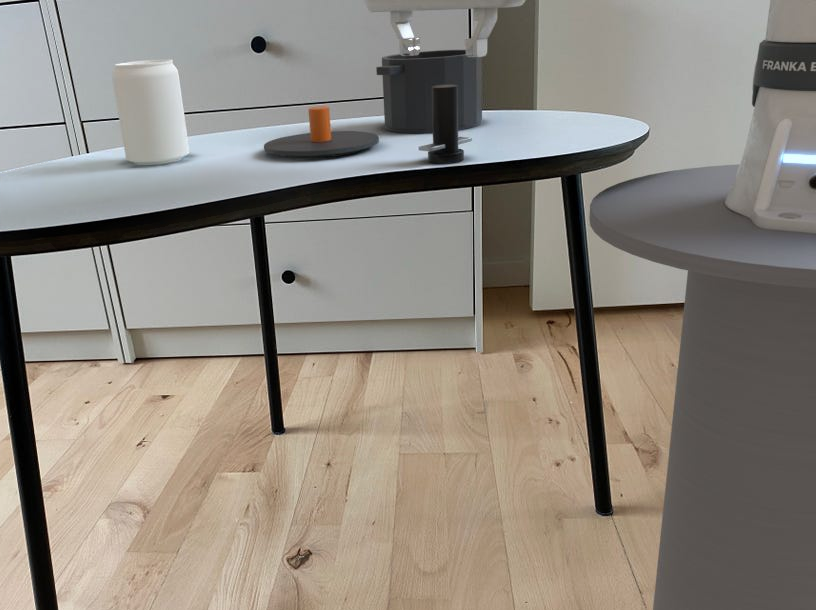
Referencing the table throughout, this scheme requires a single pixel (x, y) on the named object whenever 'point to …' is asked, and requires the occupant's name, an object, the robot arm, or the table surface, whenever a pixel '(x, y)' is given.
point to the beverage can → (150, 111)
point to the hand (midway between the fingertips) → (441, 56)
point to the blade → (445, 127)
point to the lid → (321, 139)
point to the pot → (429, 88)
